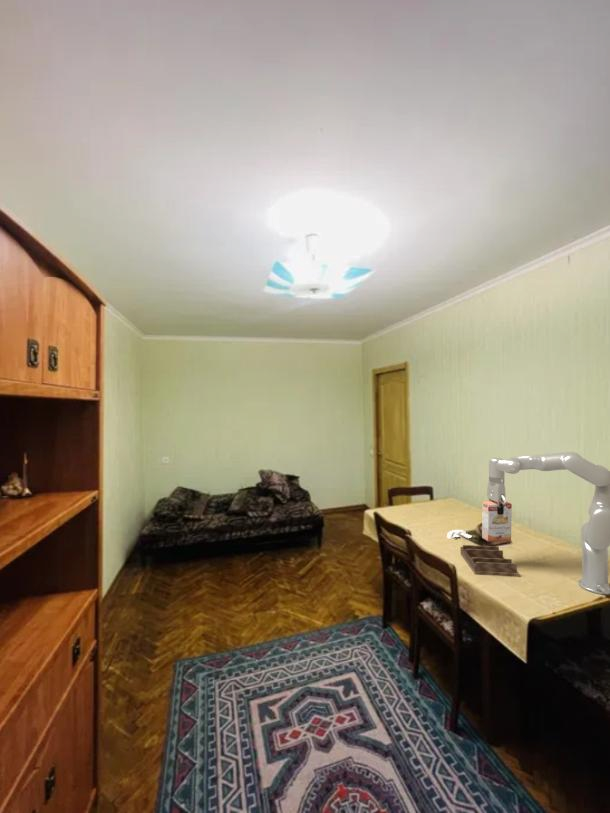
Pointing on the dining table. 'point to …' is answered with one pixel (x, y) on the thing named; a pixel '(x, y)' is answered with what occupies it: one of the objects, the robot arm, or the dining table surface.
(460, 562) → the dining table surface
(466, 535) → the cloth
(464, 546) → the rack
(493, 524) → the cracker box
